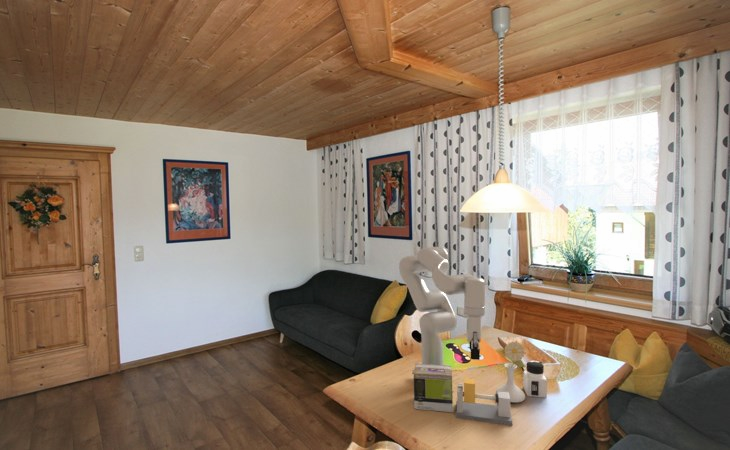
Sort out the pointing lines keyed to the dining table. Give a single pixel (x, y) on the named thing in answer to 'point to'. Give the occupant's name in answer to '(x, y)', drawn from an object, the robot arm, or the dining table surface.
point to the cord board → (484, 408)
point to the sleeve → (469, 390)
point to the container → (535, 380)
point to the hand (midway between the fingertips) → (474, 354)
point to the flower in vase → (513, 353)
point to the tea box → (433, 387)
